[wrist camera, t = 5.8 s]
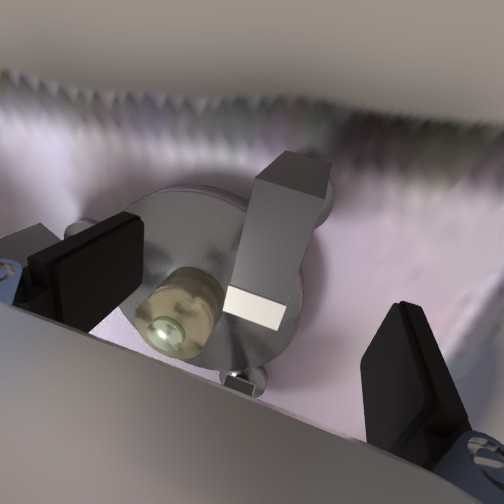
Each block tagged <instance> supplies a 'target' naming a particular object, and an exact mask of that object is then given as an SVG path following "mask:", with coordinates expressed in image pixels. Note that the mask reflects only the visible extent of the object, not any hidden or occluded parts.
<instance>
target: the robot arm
mask: <svg viewBox="0 0 504 504" xmlns="http://www.w3.org/2000/svg"><path fill="white" fill-rule="evenodd" d="M143 253H144V222H143V221H142V220H141V217H140V216H138V215H135V214H132V213H129V212H126V211H123V212H121V213H119V214H117V215H115V216H112V217H110V218H108V219H106V220H104V221H102V222H100V223H98V224H96V225H94V226H91V227H89V228H87V229H85V230H83V231H81V232H79V233H77V234H75V235H73V236H70V237H68V238H66V239H64V240H62V241H60V242H58V243H56V244H54V245H51V246H49V247H47V248H45V249H43V250H41V251H39V252H37V253H35V254H33V255H30V256H28V257H27V260H28V266H26V267H24V268H22V266H21V264H20V263H18V262H16V261H14V260H9V259H0V504H504V445H503V444H501V443H500V442H499V441H497V440H496V439H494V438H493V437H490V436H489V435H487V434H485V433H482V432H478V431H474V430H473V431H472V428H471V426H470V424H469V421H468V419H467V418H468V415H467V413H466V411H465V408H464V406H463V403H462V402H461V399H460V397H459V394H458V392H457V389H456V387H455V385H454V382H453V380H452V377H451V375H450V373H449V370H448V368H447V366H446V363H445V361H444V359H443V356H442V354H441V352H440V349H439V347H438V344H437V342H436V340H435V337H434V335H433V333H432V330H431V328H430V326H429V323H428V321H427V318H426V316H425V314H424V311H423V309H422V307H421V306H418V305H415V304H412V303H408V302H405V301H401V302H400V303H399V304H398V303H394V304H393V305H392V306H391V308H390V310H389V312H388V313H387V315H386V317H385V319H384V320H383V322H382V324H381V326H380V327H379V329H378V331H377V333H376V334H375V336H374V338H373V339H372V341H371V343H370V345H369V346H368V348H367V350H366V352H365V353H364V355H363V357H362V360H361V364H360V370H361V381H362V393H363V404H364V416H365V427H366V439H367V443H365V442H363V441H361V440H358V439H356V438H353V437H351V436H348V435H346V434H344V433H341V432H339V431H336V430H334V429H332V428H329V427H327V426H324V425H322V424H319V423H317V422H314V421H312V420H309V419H306V418H304V417H301V416H299V415H296V414H294V413H291V412H289V411H286V410H284V409H281V408H279V407H276V406H274V405H271V404H269V403H266V402H264V401H261V400H259V399H256V398H254V397H251V396H249V395H246V394H243V393H241V392H238V391H236V390H233V389H231V388H228V387H226V386H223V385H221V384H218V383H215V382H213V381H210V380H208V379H205V378H203V377H200V376H198V375H195V374H192V373H190V372H187V371H185V370H182V369H180V368H177V367H174V366H172V365H169V364H167V363H164V362H162V361H159V360H156V359H154V358H151V357H149V356H146V355H144V354H141V353H138V352H136V351H133V350H131V349H128V348H125V347H123V346H120V345H118V344H115V343H112V342H110V341H107V340H105V339H102V338H99V337H97V336H94V335H91V334H89V332H90V331H91V330H92V329H93V328H94V327H95V326H96V325H97V324H99V323H100V322H101V321H102V320H103V319H104V318H105V317H106V316H108V315H109V314H110V313H111V312H112V311H113V310H114V309H115V308H116V307H118V306H119V305H120V304H121V303H122V302H123V301H124V300H125V299H127V298H128V297H129V296H130V295H131V294H132V293H133V292H134V291H135V290H137V289H138V288H139V287H140V285H141V283H142V279H143Z"/></svg>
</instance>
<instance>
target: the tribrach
mask: <svg viewBox="0 0 504 504" xmlns="http://www.w3.org/2000/svg"><path fill="white" fill-rule="evenodd" d="M333 198H334V191H333V186H332V182H331V180H330V178H329V181H328V186H327V192H326V197H325V201H324V204H323V207H322V209H321V212H320V215H319V217H318V220H317V222H316V225H315V228H314V229H316V228H317V227H319V226H320V225H321V224H323V223H324V221H325V220H326V219H327V218H328V216H329V214H330V212H331V209H332V206H333ZM248 206H249V202H248V201H246V200H244V199H242V198H240V197H238V196H236V195H234V194H232V193H229V192H226V191H223V190H221V189H217V188H212V187H208V186H201V185H178V186H173V187H169V188H165V189H162V190H160V191H157V192H155V193H153V194H151V195H149V196H147V197H145V198H143V199H141V200H139V201H137V202H135V203H134V204H132V205H130V206H129V207H128V208H127V209H125V210H124V211H126V212H129V213H132V214H135V215H138V216H140V217H141V220H142V221H143V222H144V253H143V279H142V283H141V285H140V287H139V288H138V289H137V290H135V291H134V292H133V293H132V294H131V295H130V296H129V297H128V298H127V299H125V300H124V301H123V302H122V303H121V304H120V305H119V308H120V309H121V311H122V312H123V314H124V315H125V316H126V318H127V319H128V320H129V321H130V323H131V324H132V325H133V326H134V327H135V328H136V329H137V330H138V332H139V334H140V335H141V337H142V338H143V339H144V340H145V341H146V343H147V344H149V345H150V346H151V347H152V348H153V349H155V350H156V351H158V352H160V353H161V354H163V355H166V356H168V357H171V358H175V359H179V360H181V361H184V362H186V363H189V364H192V365H195V366H198V367H202V368H206V369H211V370H218V371H221V372H220V381H221V383H222V384H223V383H224V380H225V378H226V376H227V374H229V375H231V376H234V377H241V378H244V379H246V380H247V381H248V382H249V383H252V384H254V385H256V386H255V389H254V392H253V396H252V397H254V398H257V397H259V396H261V395H262V394H263V392H264V390H265V386H266V382H267V374H266V372H265V370H264V369H263V367H262V366H261V365H262V364H264V363H267V362H269V361H270V360H272V359H273V358H275V357H276V356H278V355H279V354H280V353H281V352H282V351H283V350H284V349H285V348H286V347H287V345H288V344H289V342H290V341H291V340H292V338H293V336H294V334H295V332H296V329H297V325H298V322H299V318H300V313H301V308H302V302H303V294H304V289H303V277H302V272H301V268H299V270H298V273H297V276H296V278H295V281H294V284H293V286H292V289H291V292H290V295H289V299H288V302H287V306H286V309H285V311H284V314H283V317H282V319H281V322H280V325H279V327H278V330H277V331H276V330H274V329H271V328H268V327H266V326H263V325H260V324H258V323H255V322H252V321H250V320H247V319H244V318H242V317H239V316H236V315H234V314H231V313H228V312H226V311H223V307H224V302H225V298H226V294H227V289H228V285H229V284H230V282H231V279H232V274H233V270H234V266H235V261H236V257H237V253H238V249H239V244H240V240H241V236H242V231H243V227H244V223H245V219H246V214H247V210H248ZM96 224H98V222H96V221H94V220H90V219H83V220H80V221H78V222H75V223H73V224H71V225H69V226H68V227H67V228H66V230H65V233H64V239H66V238H68V237H70V236H73V235H75V234H77V233H79V232H81V231H83V230H85V229H87V228H89V227H91V226H94V225H96Z"/></svg>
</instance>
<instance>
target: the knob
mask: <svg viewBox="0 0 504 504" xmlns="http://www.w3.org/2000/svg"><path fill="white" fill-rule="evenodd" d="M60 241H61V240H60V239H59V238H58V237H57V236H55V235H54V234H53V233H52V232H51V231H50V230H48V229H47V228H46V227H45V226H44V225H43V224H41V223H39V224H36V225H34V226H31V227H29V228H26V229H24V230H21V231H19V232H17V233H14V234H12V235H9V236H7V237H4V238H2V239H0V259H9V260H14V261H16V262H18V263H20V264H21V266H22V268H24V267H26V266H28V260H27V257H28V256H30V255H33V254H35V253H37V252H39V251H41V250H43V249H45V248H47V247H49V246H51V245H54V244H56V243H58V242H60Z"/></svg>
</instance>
